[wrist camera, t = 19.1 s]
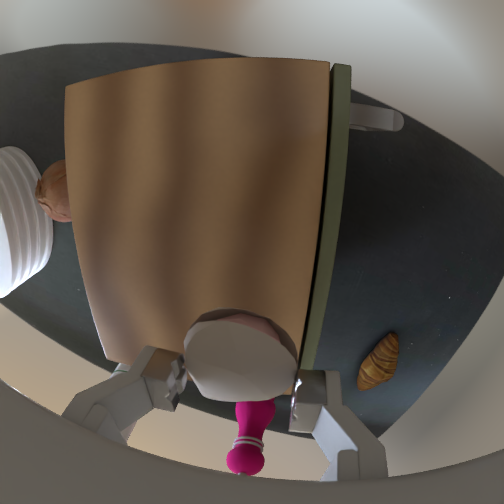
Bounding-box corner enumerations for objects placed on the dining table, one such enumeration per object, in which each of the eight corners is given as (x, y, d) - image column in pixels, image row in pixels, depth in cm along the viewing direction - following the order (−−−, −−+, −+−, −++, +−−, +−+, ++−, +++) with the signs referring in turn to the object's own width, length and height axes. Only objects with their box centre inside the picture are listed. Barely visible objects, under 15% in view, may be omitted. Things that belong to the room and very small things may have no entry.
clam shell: (319, 332, 11) (321, 380, 8) (251, 395, 13) (242, 438, 10) (221, 274, 10) (200, 315, 8) (171, 352, 12) (149, 392, 10)
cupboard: (310, 104, 31) (329, 61, 12) (296, 268, 40) (291, 395, 20) (183, 102, 33) (65, 86, 13) (186, 258, 42) (106, 359, 22)
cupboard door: (361, 110, 31) (444, 87, 11) (342, 273, 39) (370, 396, 20) (311, 104, 31) (333, 62, 12) (298, 269, 40) (294, 394, 20)
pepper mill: (251, 374, 50) (230, 469, 32) (284, 389, 50) (274, 482, 32) (233, 392, 53) (210, 479, 35) (264, 406, 53) (249, 491, 35)
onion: (78, 182, 43) (27, 190, 35) (93, 143, 38) (34, 149, 30) (94, 227, 42) (39, 240, 34) (111, 191, 37) (46, 202, 29)
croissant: (375, 385, 47) (379, 405, 43) (344, 381, 48) (346, 402, 43) (410, 332, 42) (418, 351, 37) (376, 325, 42) (382, 346, 38)
